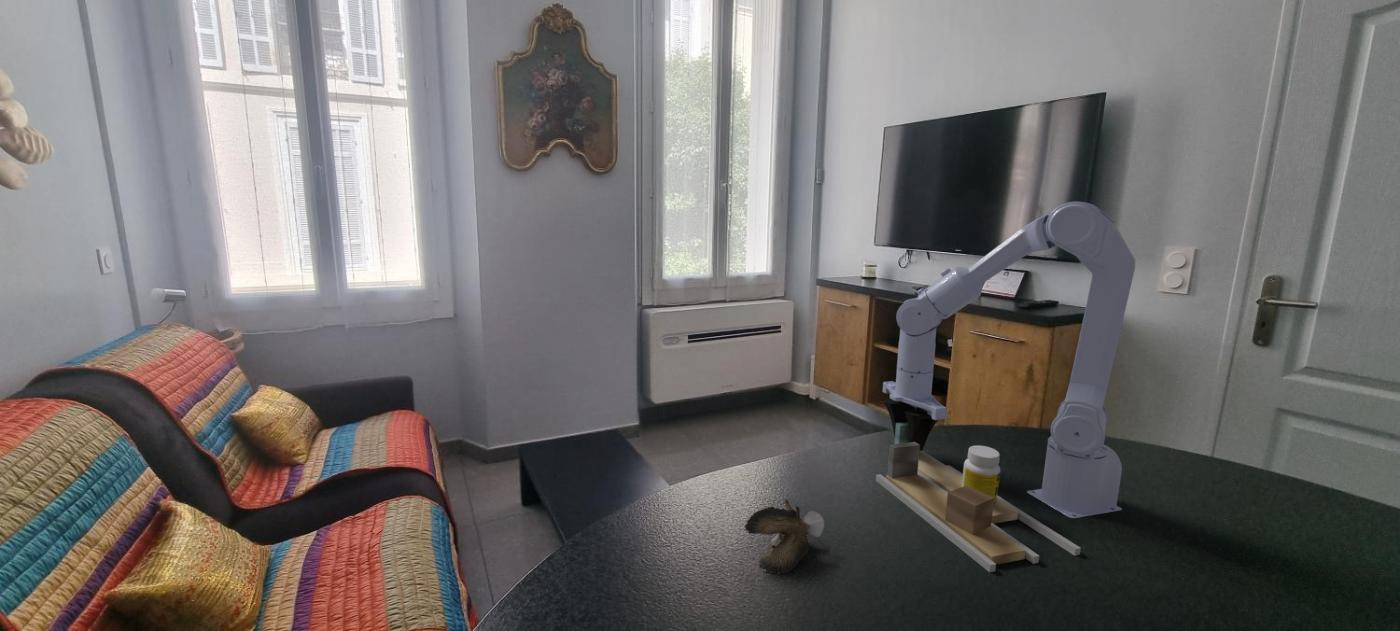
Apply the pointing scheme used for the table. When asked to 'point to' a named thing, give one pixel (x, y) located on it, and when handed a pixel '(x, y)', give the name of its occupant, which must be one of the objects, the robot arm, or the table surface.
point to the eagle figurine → (785, 535)
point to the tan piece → (949, 476)
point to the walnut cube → (969, 509)
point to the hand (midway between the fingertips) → (908, 445)
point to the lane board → (972, 550)
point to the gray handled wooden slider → (944, 504)
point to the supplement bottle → (982, 470)
